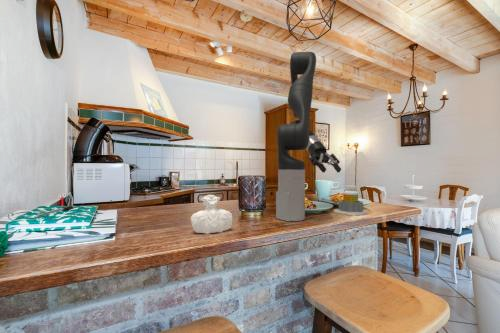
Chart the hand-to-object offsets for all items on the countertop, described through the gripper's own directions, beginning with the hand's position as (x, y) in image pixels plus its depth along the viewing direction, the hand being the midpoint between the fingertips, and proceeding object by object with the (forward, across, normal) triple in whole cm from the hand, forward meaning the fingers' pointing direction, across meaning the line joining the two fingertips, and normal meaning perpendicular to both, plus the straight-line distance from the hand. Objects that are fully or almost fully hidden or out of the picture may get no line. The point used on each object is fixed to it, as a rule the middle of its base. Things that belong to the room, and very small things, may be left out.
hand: (332, 171), depth 103 cm
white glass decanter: (+20, -58, +3) cm, 61 cm away
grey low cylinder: (+19, 0, +5) cm, 19 cm away
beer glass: (+18, 0, +4) cm, 18 cm away
